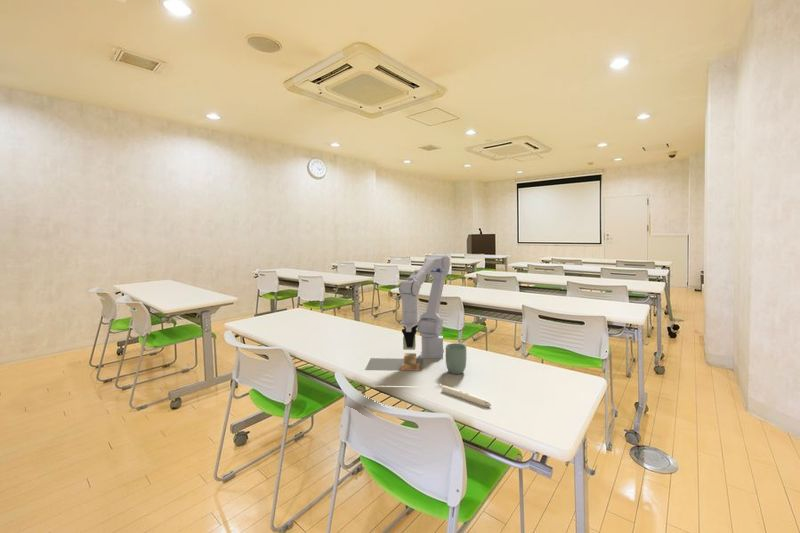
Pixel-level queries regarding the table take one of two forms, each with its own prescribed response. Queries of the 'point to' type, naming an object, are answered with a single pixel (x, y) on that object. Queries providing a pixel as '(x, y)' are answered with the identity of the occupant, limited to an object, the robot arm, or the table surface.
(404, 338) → the sage block
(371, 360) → the mat
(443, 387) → the marker
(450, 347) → the cup
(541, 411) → the table surface
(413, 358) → the maple block
